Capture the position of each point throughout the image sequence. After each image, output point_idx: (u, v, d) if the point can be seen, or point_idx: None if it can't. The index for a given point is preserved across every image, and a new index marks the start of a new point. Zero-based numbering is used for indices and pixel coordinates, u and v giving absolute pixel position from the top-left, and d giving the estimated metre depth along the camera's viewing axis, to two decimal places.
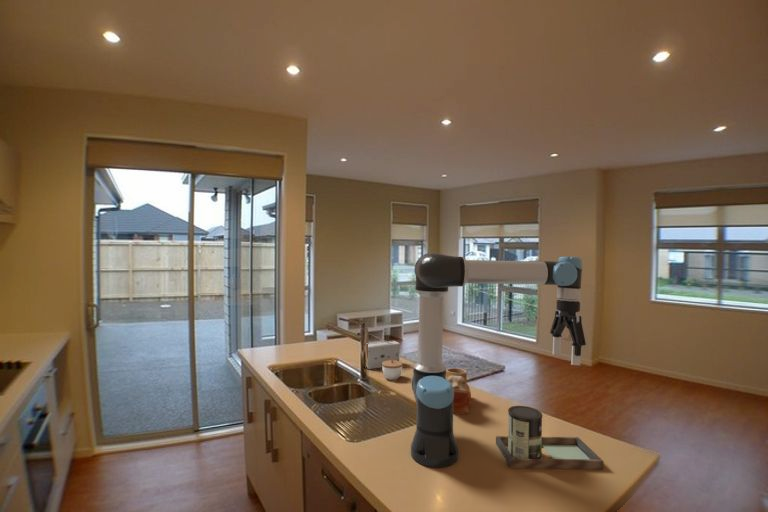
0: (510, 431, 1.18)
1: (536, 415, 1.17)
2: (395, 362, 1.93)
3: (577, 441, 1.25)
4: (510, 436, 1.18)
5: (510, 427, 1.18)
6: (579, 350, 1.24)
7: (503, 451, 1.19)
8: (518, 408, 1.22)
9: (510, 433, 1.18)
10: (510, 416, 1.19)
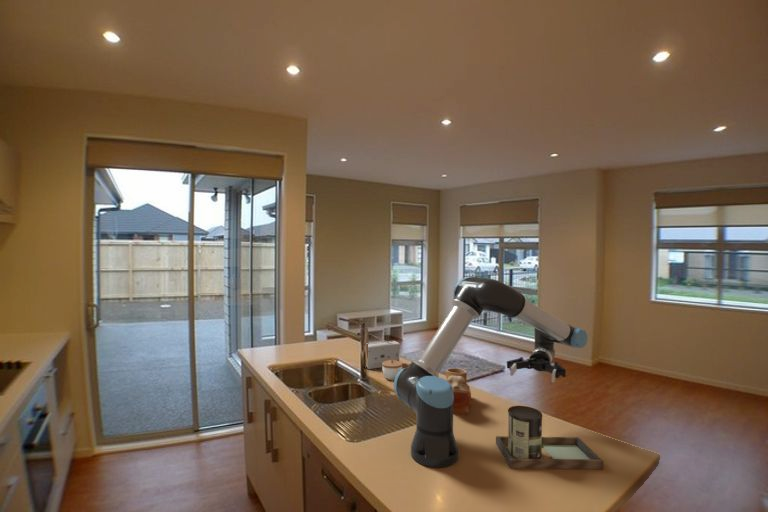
0: (510, 431, 1.18)
1: (536, 415, 1.17)
2: (395, 362, 1.93)
3: (577, 441, 1.25)
4: (510, 436, 1.18)
5: (510, 427, 1.18)
6: (559, 375, 1.30)
7: (503, 451, 1.19)
8: (518, 408, 1.22)
9: (510, 433, 1.18)
10: (510, 416, 1.19)
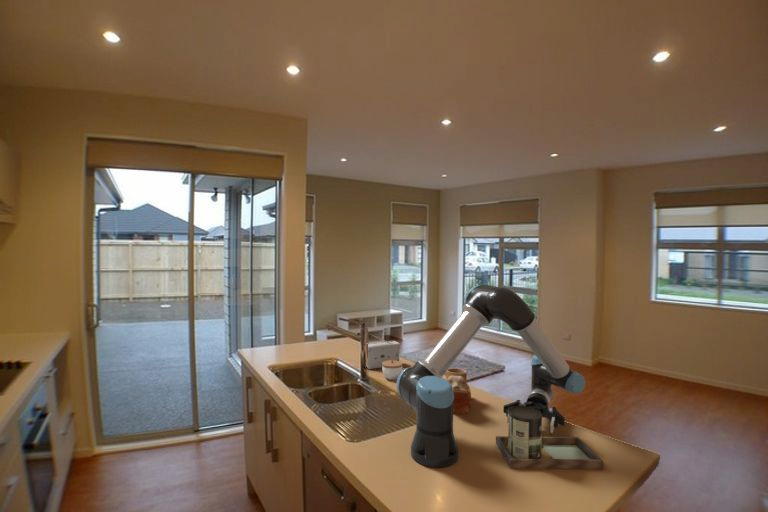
0: (510, 431, 1.18)
1: (536, 415, 1.17)
2: (395, 362, 1.93)
3: (577, 441, 1.25)
4: (510, 436, 1.18)
5: (510, 427, 1.18)
6: (558, 424, 1.25)
7: (503, 451, 1.19)
8: (518, 408, 1.22)
9: (510, 433, 1.18)
10: (510, 416, 1.18)
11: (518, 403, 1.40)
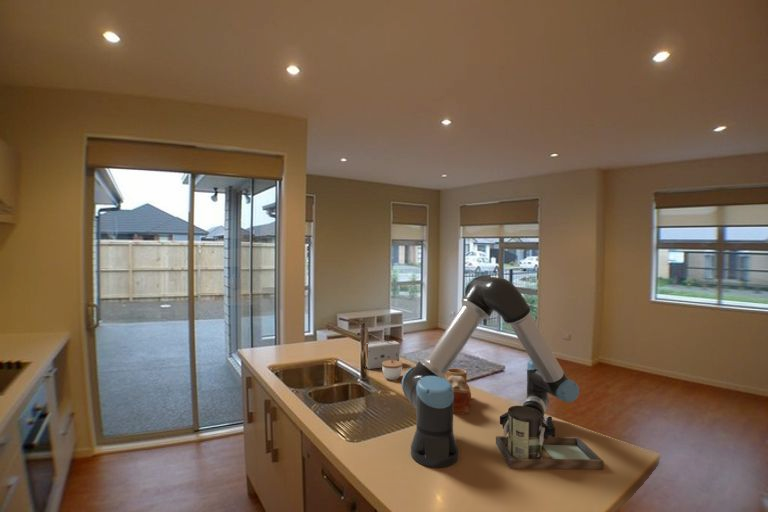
0: (510, 431, 1.18)
1: (536, 415, 1.17)
2: (395, 362, 1.93)
3: (577, 441, 1.25)
4: (510, 435, 1.18)
5: (510, 427, 1.18)
6: (548, 435, 1.17)
7: (503, 451, 1.19)
8: (518, 408, 1.22)
9: (510, 433, 1.18)
10: (510, 416, 1.19)
11: None
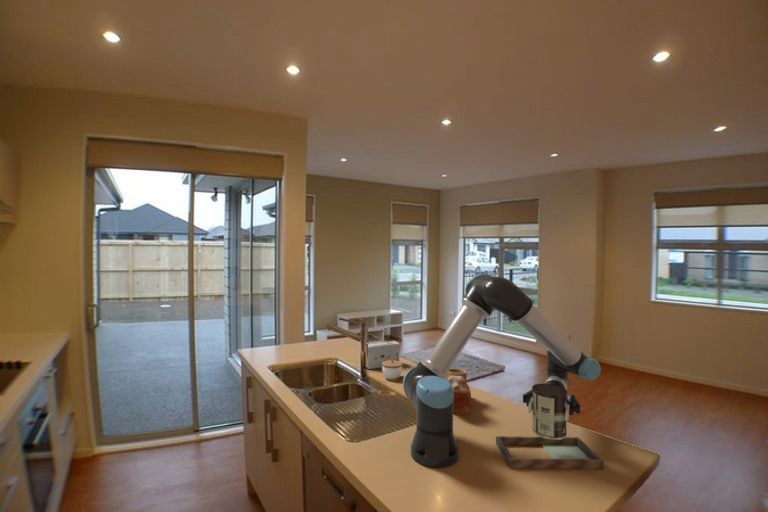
0: (535, 408, 1.19)
1: (561, 391, 1.17)
2: (395, 362, 1.93)
3: (577, 441, 1.25)
4: (535, 412, 1.19)
5: (535, 404, 1.18)
6: (573, 411, 1.17)
7: (503, 451, 1.19)
8: (542, 386, 1.22)
9: (535, 410, 1.19)
10: (535, 393, 1.19)
11: None
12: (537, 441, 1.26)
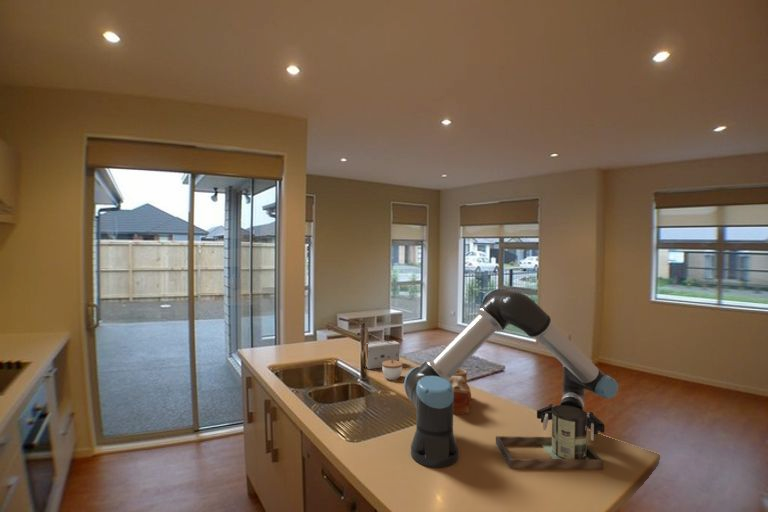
0: (555, 430, 1.18)
1: (581, 414, 1.17)
2: (395, 362, 1.93)
3: None
4: (554, 435, 1.18)
5: (555, 427, 1.18)
6: None
7: (503, 451, 1.19)
8: (561, 408, 1.22)
9: (555, 432, 1.18)
10: (555, 415, 1.18)
11: (551, 408, 1.31)
12: (537, 441, 1.26)
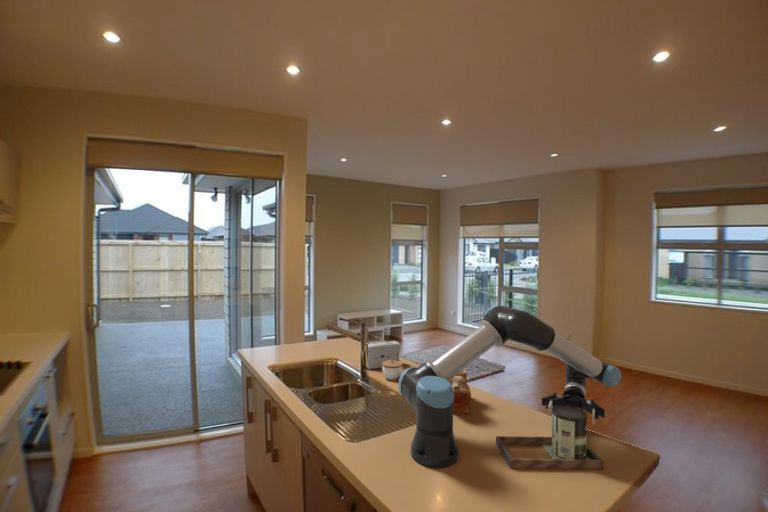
0: (554, 430, 1.18)
1: (581, 414, 1.17)
2: (395, 362, 1.93)
3: None
4: (554, 435, 1.18)
5: (555, 427, 1.18)
6: (598, 415, 1.28)
7: (503, 451, 1.19)
8: (561, 408, 1.22)
9: (554, 432, 1.18)
10: (554, 415, 1.18)
11: (555, 396, 1.42)
12: (537, 441, 1.26)
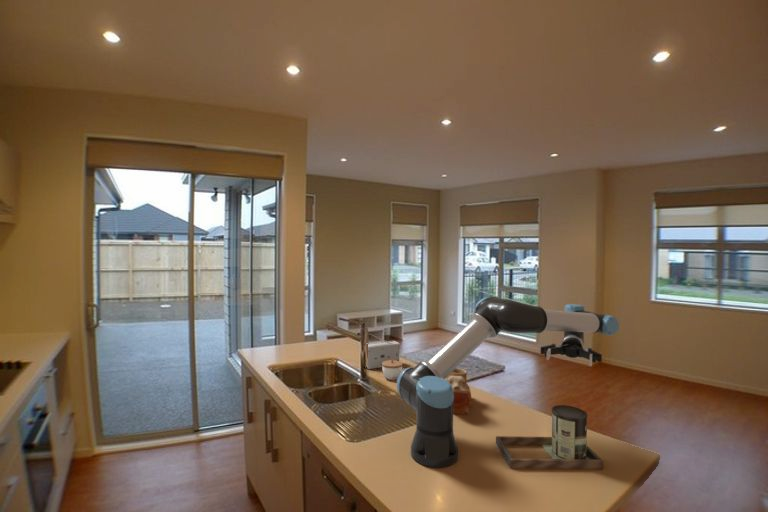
0: (555, 430, 1.18)
1: (581, 414, 1.17)
2: (395, 362, 1.93)
3: None
4: (554, 435, 1.18)
5: (555, 427, 1.18)
6: (596, 359, 1.31)
7: (503, 451, 1.19)
8: (561, 408, 1.22)
9: (555, 432, 1.18)
10: (555, 415, 1.18)
11: (554, 346, 1.45)
12: (537, 441, 1.26)
